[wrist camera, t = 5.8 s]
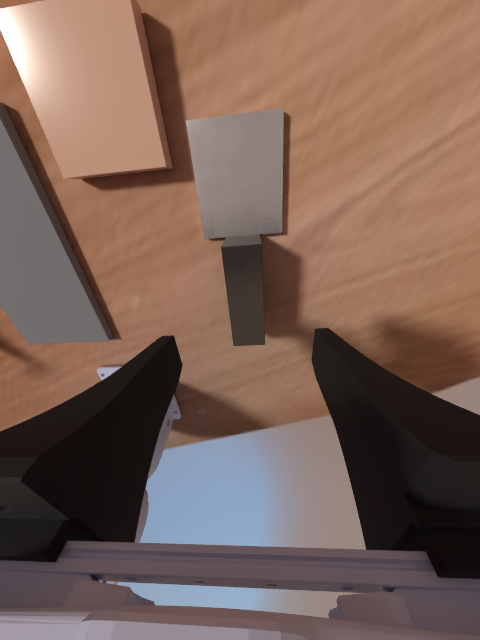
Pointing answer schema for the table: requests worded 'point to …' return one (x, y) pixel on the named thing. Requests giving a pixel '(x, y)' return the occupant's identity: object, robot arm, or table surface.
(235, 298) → the turner
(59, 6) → the block
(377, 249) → the table surface
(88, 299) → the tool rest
